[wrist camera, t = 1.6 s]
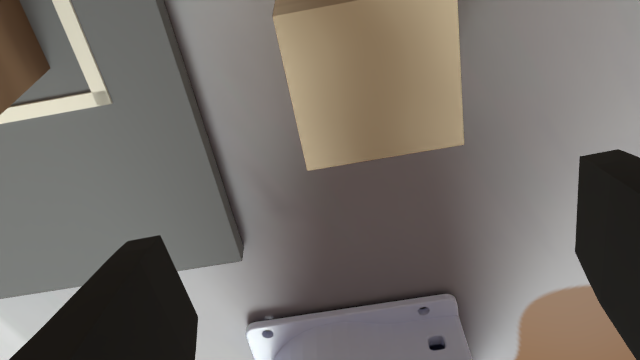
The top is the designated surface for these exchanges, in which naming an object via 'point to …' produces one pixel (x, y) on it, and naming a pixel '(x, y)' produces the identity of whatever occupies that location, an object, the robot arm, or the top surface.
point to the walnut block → (18, 54)
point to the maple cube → (371, 77)
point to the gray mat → (106, 151)
